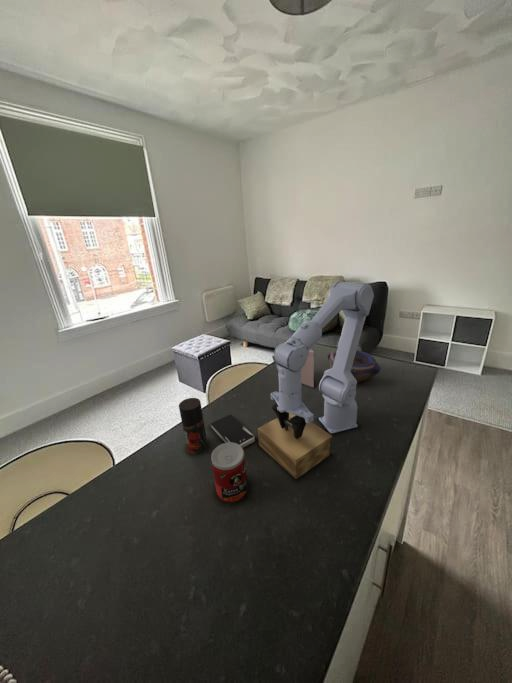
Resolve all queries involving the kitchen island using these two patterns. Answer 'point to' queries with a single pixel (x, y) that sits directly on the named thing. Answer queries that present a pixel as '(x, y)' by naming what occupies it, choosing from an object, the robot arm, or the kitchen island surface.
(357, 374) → the bowl
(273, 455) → the compartment
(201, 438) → the deodorant
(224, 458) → the canned food
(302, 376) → the greeting card
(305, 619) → the kitchen island surface
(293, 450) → the lid
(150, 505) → the kitchen island surface
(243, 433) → the smartphone
